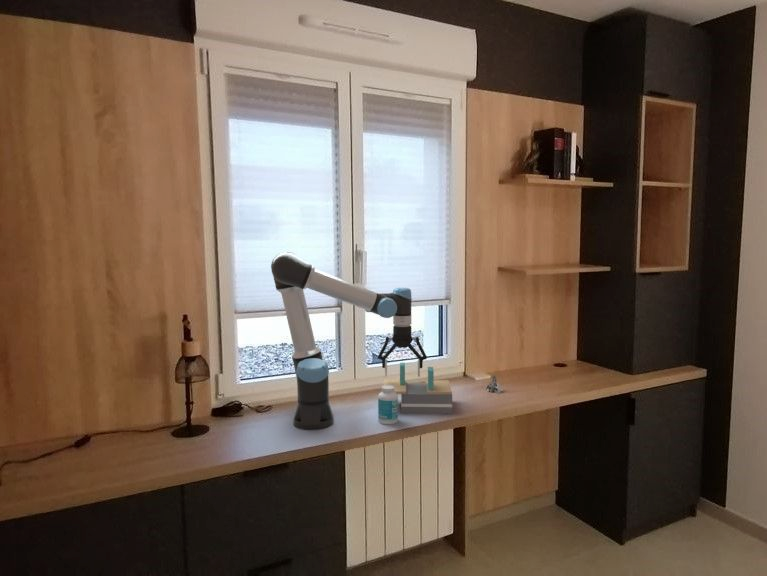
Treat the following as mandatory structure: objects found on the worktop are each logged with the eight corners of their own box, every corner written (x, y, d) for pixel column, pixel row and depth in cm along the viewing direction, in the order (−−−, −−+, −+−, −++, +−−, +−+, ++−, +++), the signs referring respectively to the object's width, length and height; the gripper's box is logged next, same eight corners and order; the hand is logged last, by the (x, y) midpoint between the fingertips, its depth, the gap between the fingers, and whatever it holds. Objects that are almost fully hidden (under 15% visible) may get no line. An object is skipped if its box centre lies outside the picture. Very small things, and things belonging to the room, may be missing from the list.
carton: (401, 413, 200) (401, 394, 200) (401, 400, 216) (401, 382, 216) (452, 414, 200) (452, 394, 199) (448, 401, 216) (448, 382, 215)
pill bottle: (395, 426, 187) (395, 390, 186) (376, 424, 189) (376, 389, 188) (399, 419, 195) (399, 384, 193) (380, 417, 196) (380, 383, 195)
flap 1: (381, 393, 200) (381, 371, 199) (383, 382, 216) (383, 361, 215) (406, 393, 200) (406, 371, 199) (406, 382, 216) (406, 361, 215)
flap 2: (427, 394, 199) (427, 371, 198) (425, 382, 215) (425, 361, 214) (451, 394, 199) (452, 371, 198) (448, 382, 215) (448, 361, 214)
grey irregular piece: (475, 391, 230) (475, 375, 229) (488, 388, 235) (489, 372, 234) (490, 396, 223) (490, 379, 222) (503, 393, 228) (504, 376, 227)
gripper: (371, 326, 205) (371, 377, 208) (433, 326, 204) (432, 378, 206) (372, 323, 213) (373, 372, 215) (432, 323, 212) (431, 373, 214)
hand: (402, 375), depth 211 cm, fingers open, 13 cm apart
